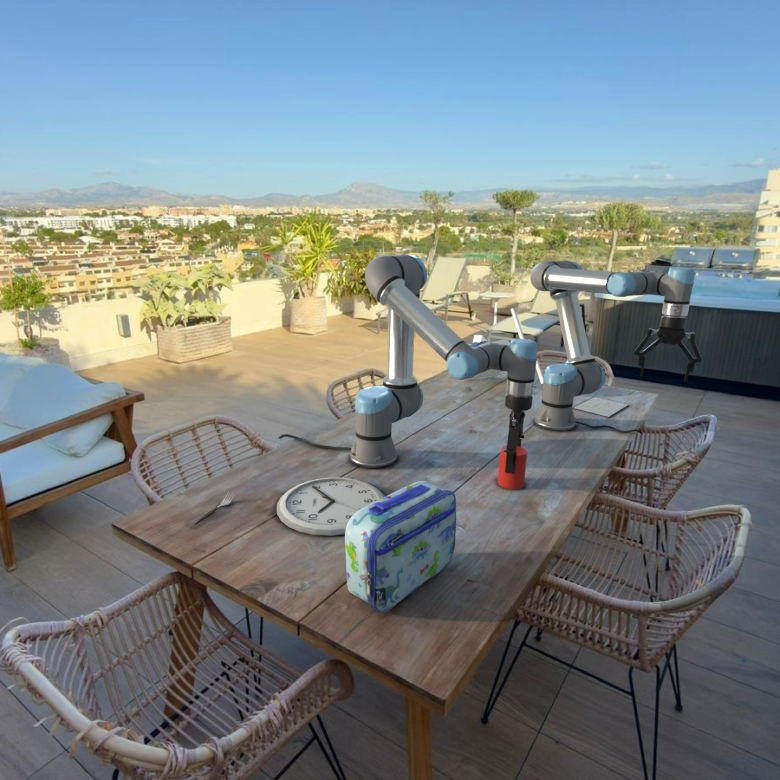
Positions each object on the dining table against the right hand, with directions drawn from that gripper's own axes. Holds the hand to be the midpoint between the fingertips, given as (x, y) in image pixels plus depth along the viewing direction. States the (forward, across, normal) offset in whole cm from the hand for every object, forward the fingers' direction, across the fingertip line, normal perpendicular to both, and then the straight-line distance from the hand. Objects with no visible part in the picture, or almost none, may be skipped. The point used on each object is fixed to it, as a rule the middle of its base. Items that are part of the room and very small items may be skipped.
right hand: (662, 378), depth 178 cm
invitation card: (+25, -22, +37) cm, 50 cm away
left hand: (+19, -35, -53) cm, 66 cm away
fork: (+25, -98, -110) cm, 149 cm away
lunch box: (+25, -41, -110) cm, 121 cm away
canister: (+25, -35, -53) cm, 68 cm away
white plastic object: (+25, -70, +43) cm, 86 cm away
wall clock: (+25, -73, -91) cm, 120 cm away
